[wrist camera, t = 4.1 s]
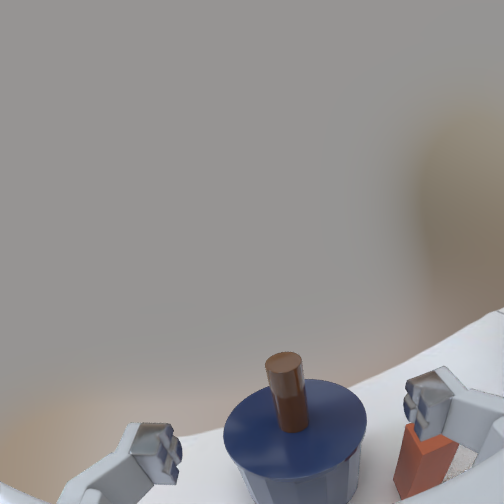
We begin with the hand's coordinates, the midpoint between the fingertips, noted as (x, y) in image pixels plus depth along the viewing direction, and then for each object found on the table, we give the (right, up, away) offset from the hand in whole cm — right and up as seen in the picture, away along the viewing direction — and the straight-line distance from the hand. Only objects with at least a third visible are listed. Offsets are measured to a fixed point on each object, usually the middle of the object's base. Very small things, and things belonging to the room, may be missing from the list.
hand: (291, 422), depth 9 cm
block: (+16, -19, +12) cm, 27 cm away
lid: (+3, -10, +15) cm, 18 cm away
